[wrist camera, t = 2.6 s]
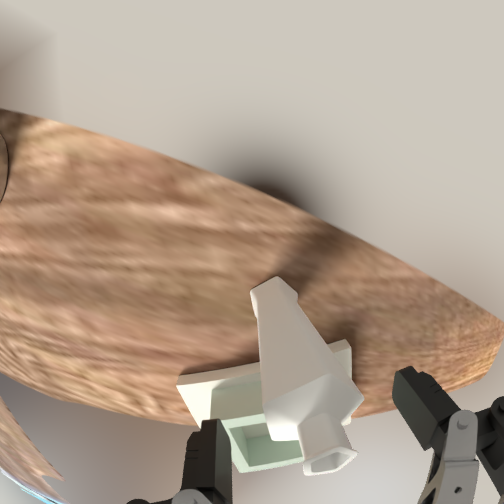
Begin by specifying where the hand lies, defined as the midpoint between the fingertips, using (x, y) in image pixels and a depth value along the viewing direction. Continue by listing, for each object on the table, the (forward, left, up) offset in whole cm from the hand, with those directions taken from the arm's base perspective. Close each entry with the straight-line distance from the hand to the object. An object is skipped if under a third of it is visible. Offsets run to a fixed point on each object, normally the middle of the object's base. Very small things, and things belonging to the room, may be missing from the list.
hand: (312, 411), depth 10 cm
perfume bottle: (0, 0, -12) cm, 12 cm away
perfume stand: (-2, -12, -12) cm, 17 cm away
